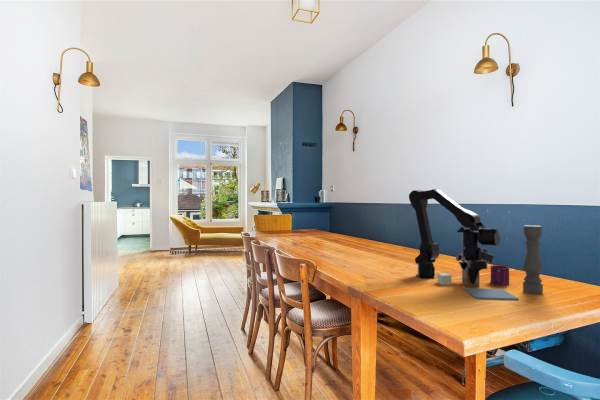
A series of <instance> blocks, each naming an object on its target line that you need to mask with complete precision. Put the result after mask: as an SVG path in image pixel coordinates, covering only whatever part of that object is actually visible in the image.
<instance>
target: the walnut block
mask: <svg viewBox="0 0 600 400" xmlns="http://www.w3.org/2000/svg"><path fill="white" fill-rule="evenodd" d="M461 280H462V282H461V283H462V285H464V286H465V287H473V288H475V287H476V288H478V287H480V271H479V272H478V275H477V278H476V281H475V283H474V284H472V283H471V281H470V278H469V275H468V272H467V270H466V269H462V268H461Z"/></svg>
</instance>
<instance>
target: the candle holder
mask: <svg viewBox="0 0 600 400" xmlns="http://www.w3.org/2000/svg"><path fill="white" fill-rule="evenodd" d="M542 227H543V226H542V225H534V224H533V225H532V224H531V225H530V224H526V225H525V224H524V225H523V235H524V238H525V239H526V240H525V241H524V242H523V243H524V245H526V254H525V257H524V261H523V265H522V268H523V270H524V272H525V276H524V277H523V280H524V281H522V292H523V293H525V294H529V295H537V296H538V295H543V294H544V285H543V280H542V279H541V277H540V276H541V273H542V272H543V263H542V259H541V257H540V245H541V244H542V242H541V241H540V239H541V237H542V235H543V228H542Z"/></svg>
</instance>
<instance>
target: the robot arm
mask: <svg viewBox="0 0 600 400" xmlns="http://www.w3.org/2000/svg"><path fill="white" fill-rule="evenodd" d="M432 199H433V200H435V201H436V202H437V203H439V204H440V206H442V207H443V208H445V210H447V211H449V212H450V213H452V215H453V216H454V217H455V219H456V220H457V222H459V224H461V225H460V226H461V227H460V228H459V229H458V230H457V233H462V245H460V249H462V253H456V255H455V261H457V262H458V264H459V267H460V269H461V270H462V269H466V270H467V272H468V275H469V278H470V281H471V283H472V284H474V283H475V281H476V278H477V275H478V272H479V273H480V272H481V271H482V270H487V269H488V263H491V264H493V263H492V262H493V260H494V257H495V255H494V254H491V253H489V252H488V250H487V249H485V248H481V246H489V247H499V246H500V243H501V236H500V233H499V232H498V231H499V230H498V228H486V226H485V225H484V224H483V222H482V221H481V217H480V216H479V214H477V213H476V212H474V211H472V210H469V209H467V208H464V207H462V206H461V205H460V204H459V203H457V202H456V201H454V200H453V199H452V198H450V197H449V196H447V195H446V194H445V193H444V192H443V191H442V190H440V189H437V188H435V189H433V188H432V189H429V190H423V189H422V190H421V189H420V190H419V189H418V190H412V191H411V192H410V193H409V194H408V200H409V202H410V205H411V207H412V208H413V210H414V211H415V215H416V220H417V221H416V222H417V225H418V232H419V236H420V245H419V254H418V255H417V256H416V257H415V258H414V261H415V264H417V273H416V276H417V277H418V278H419V279H421V278H422V279H423V278H424V279H435V278H436V277H435V275H436V274H435V271H436V268H435V266H434V263H436V259H438V258H439V256H440V252H441V250H440V248H439V243H438V242H436V243H435V242H434V240H433V238H432V231H431V226H430V222H429V216H428V211H427V207H428V204H429V203H428V200H432ZM479 244H480V245H481V246H479ZM486 261H487V262H488V263H487V262H486Z"/></svg>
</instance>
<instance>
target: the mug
mask: <svg viewBox="0 0 600 400" xmlns="http://www.w3.org/2000/svg"><path fill="white" fill-rule="evenodd" d="M490 283H491V284H493V285H499V286H509V285H510V267H509V266H506V265H499V264H498V265H497V264H496V265H495V264H494V265H490Z"/></svg>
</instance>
